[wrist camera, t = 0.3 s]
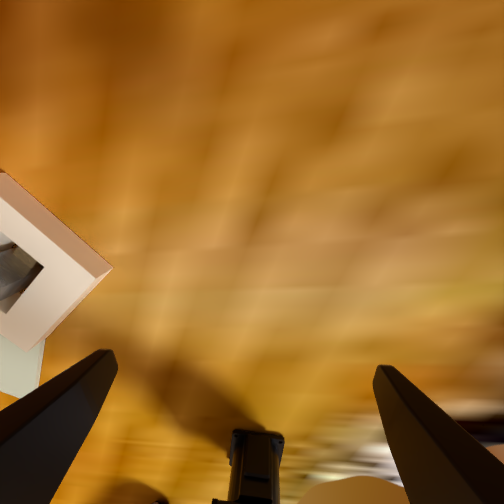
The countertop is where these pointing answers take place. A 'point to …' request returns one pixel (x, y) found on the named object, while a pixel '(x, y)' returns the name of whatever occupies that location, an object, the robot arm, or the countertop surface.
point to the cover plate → (53, 274)
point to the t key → (16, 271)
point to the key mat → (19, 368)
